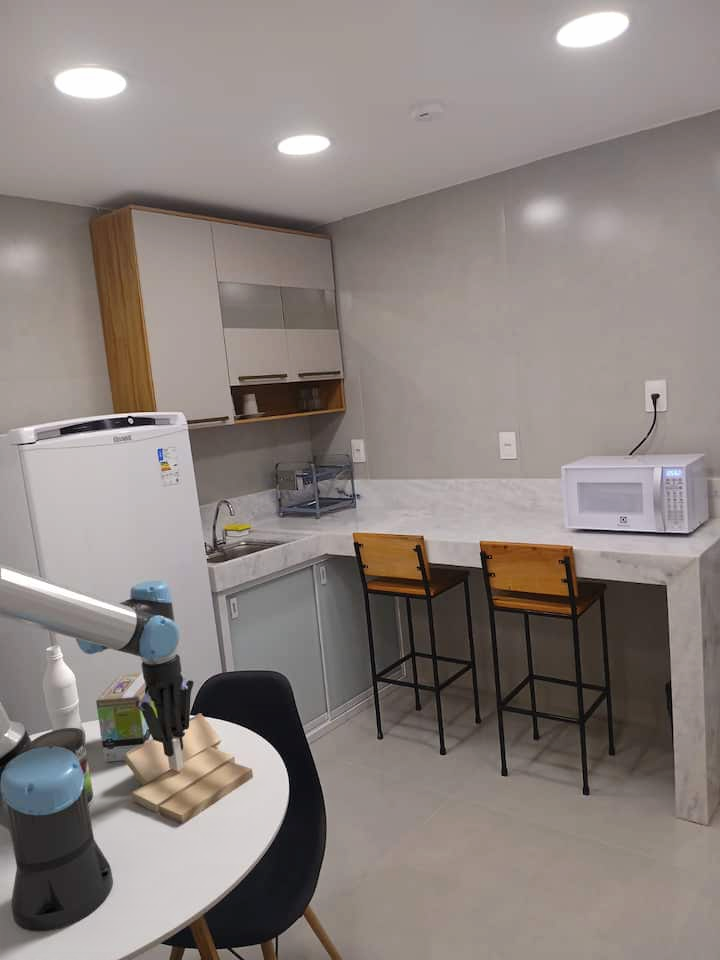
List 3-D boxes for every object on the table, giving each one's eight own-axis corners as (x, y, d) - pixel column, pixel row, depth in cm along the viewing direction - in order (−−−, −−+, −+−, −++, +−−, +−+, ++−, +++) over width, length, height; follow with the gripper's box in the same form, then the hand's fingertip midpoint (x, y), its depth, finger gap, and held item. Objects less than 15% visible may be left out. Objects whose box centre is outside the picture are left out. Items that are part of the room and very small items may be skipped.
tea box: (148, 759, 164) (138, 695, 162) (104, 763, 164) (93, 700, 162) (167, 727, 179) (158, 669, 177) (126, 732, 179) (116, 673, 177)
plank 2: (157, 813, 141) (156, 804, 141) (132, 800, 146) (131, 791, 146) (235, 763, 156) (234, 755, 156) (209, 753, 161) (208, 745, 161)
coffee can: (104, 791, 152) (93, 726, 150) (75, 821, 142) (63, 752, 140) (60, 791, 154) (48, 727, 152) (28, 820, 144) (15, 752, 142)
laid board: (183, 824, 136) (181, 814, 136) (159, 814, 141) (158, 804, 140) (253, 777, 150) (251, 768, 150) (229, 769, 155) (228, 760, 154)
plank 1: (144, 788, 150) (147, 783, 149) (123, 758, 153) (125, 753, 152) (219, 744, 165) (221, 739, 164) (198, 717, 169) (200, 712, 168)
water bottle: (47, 757, 170) (29, 653, 167) (68, 742, 177) (50, 642, 174) (73, 758, 168) (55, 653, 165) (93, 743, 175) (76, 642, 171)
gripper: (144, 672, 142) (162, 787, 144) (197, 649, 152) (212, 757, 155) (121, 666, 146) (138, 778, 149) (174, 644, 156) (189, 749, 159)
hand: (176, 767), depth 152 cm, fingers closed
